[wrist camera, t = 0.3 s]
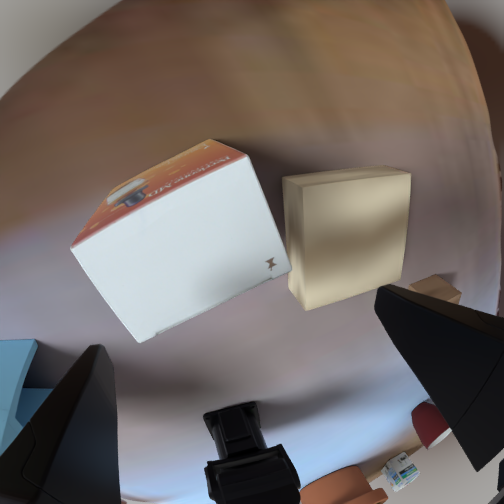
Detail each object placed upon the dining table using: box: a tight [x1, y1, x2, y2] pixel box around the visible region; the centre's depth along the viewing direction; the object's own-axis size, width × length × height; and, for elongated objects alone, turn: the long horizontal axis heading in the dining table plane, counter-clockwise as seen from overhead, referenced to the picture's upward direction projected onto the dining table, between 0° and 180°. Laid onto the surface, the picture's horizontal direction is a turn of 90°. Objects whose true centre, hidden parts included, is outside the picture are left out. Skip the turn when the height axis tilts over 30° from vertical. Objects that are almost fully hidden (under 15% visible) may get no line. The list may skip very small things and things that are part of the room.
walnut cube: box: [408, 274, 462, 304], centre depth 31 cm, size 5×5×5 cm
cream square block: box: [282, 165, 411, 311], centre depth 24 cm, size 10×10×4 cm
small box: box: [71, 139, 292, 343], centre depth 16 cm, size 8×6×10 cm
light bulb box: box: [381, 452, 420, 492], centre depth 65 cm, size 11×7×11 cm, turn 8°
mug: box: [411, 402, 452, 449], centre depth 48 cm, size 11×8×10 cm
